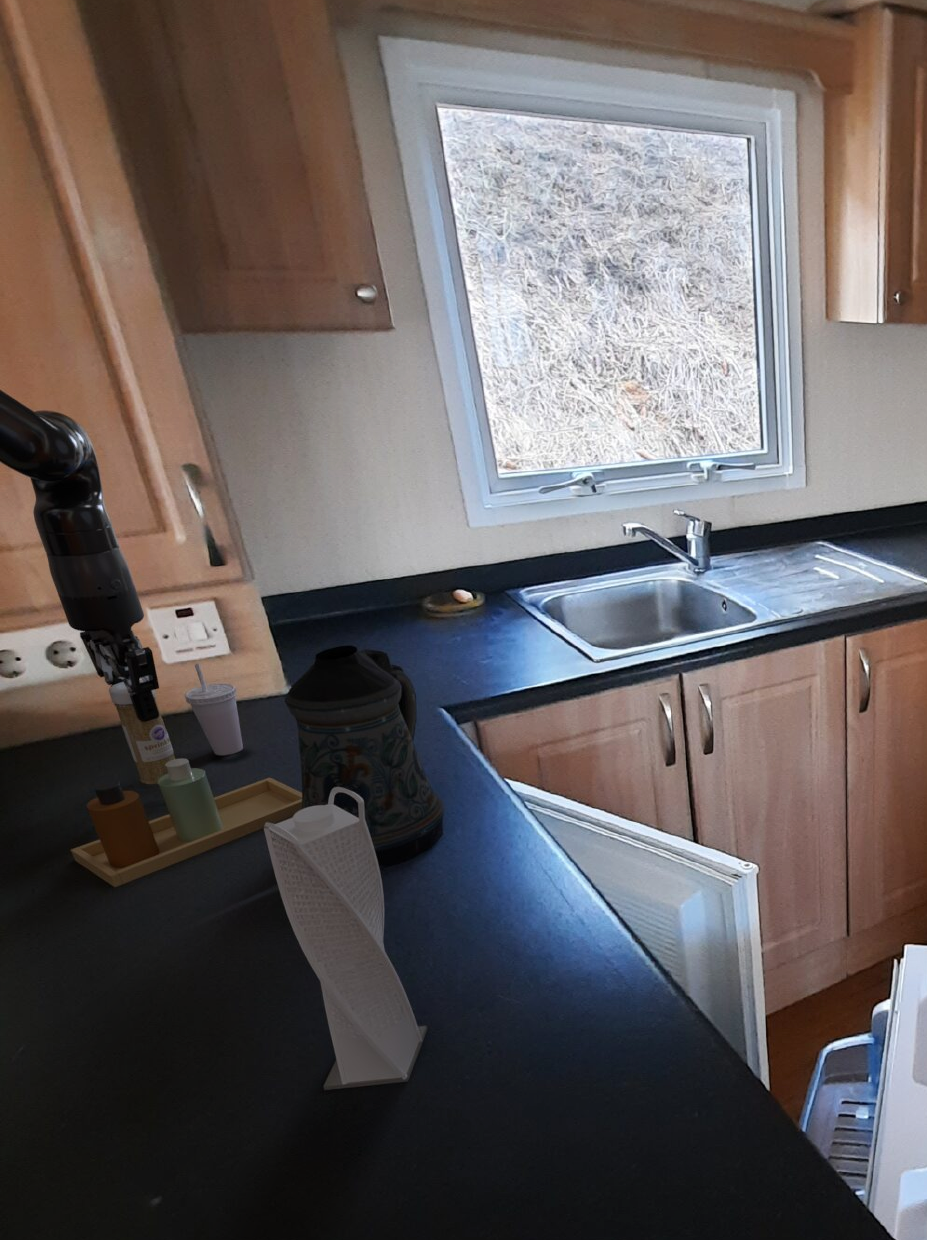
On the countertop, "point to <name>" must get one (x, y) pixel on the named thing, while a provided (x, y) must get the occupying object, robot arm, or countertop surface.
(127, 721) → the sprinkles bottle
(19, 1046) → the countertop surface
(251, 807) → the tray
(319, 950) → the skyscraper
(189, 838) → the sage bottle
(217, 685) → the smoothie
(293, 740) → the countertop surface
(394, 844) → the beer stein
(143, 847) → the amber bottle
